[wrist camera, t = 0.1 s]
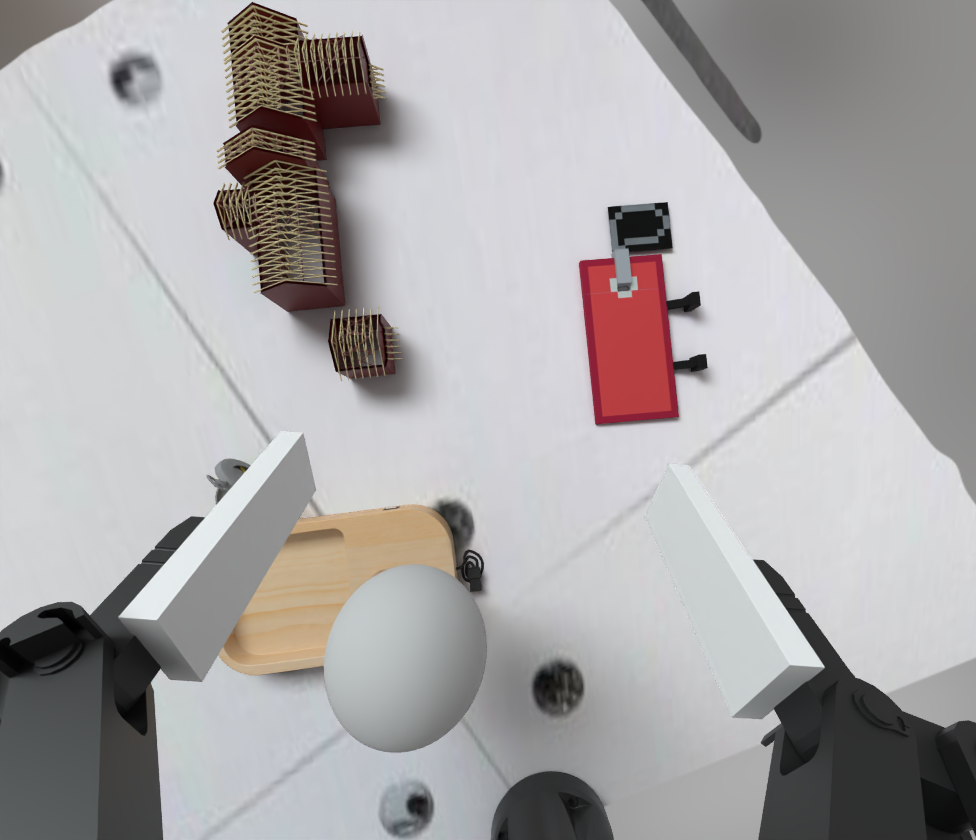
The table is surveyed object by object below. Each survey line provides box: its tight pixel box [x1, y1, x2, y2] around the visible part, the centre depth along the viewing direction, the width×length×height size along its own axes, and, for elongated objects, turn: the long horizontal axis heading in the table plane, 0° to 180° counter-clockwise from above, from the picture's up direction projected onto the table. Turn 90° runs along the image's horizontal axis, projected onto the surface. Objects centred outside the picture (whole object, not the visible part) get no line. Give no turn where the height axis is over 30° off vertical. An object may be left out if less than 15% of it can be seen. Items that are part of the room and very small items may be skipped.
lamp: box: [218, 505, 487, 752], centre depth 36 cm, size 33×17×25 cm, turn 97°
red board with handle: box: [579, 202, 708, 424], centre depth 50 cm, size 30×3×15 cm
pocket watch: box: [207, 459, 251, 505], centre depth 43 cm, size 8×8×10 cm
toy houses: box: [214, 2, 402, 381], centre depth 46 cm, size 45×20×10 cm, turn 6°
